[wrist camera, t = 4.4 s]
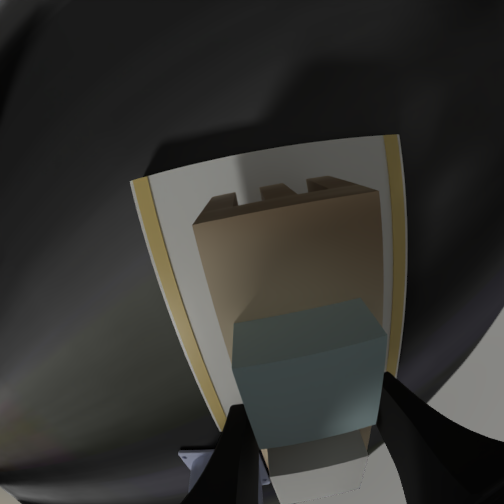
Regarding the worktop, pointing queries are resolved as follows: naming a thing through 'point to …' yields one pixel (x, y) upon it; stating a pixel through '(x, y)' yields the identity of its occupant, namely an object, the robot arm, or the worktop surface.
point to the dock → (247, 191)
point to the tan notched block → (292, 253)
